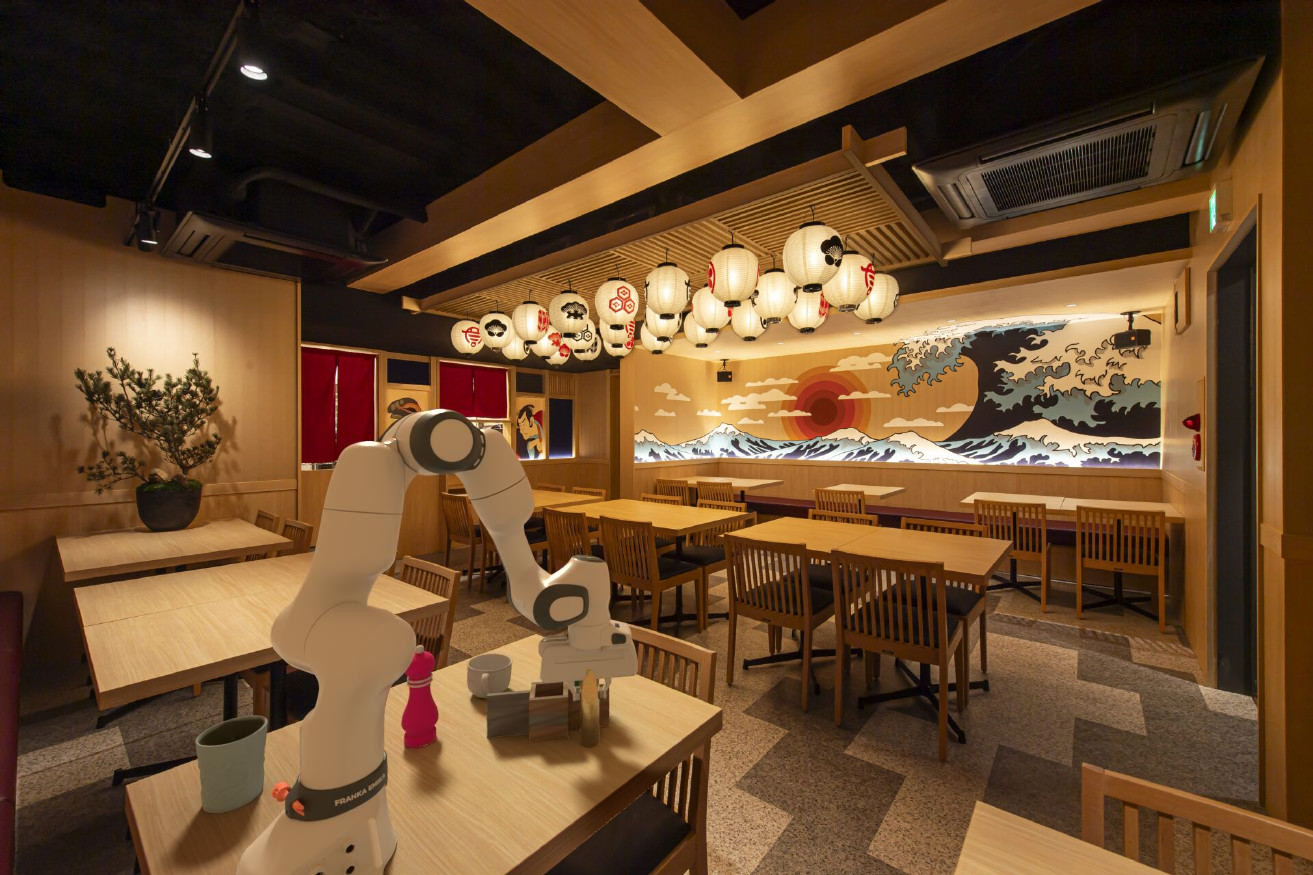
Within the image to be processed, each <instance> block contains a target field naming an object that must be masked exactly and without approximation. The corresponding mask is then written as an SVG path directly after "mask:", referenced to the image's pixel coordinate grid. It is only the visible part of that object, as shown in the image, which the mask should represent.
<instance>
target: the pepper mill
mask: <svg viewBox="0 0 1313 875" xmlns="http://www.w3.org/2000/svg"><path fill="white" fill-rule="evenodd" d="M435 666H436V659H435V656H434V655H433V654H432V653H431V652H429V651H425V647H424V645H422V644H419V645H416V649H415V654H414V657H413V659H412V661H411V663H410V665H409V667H408V669H407V670H406V671H405V673H404V674H405V675H406V676H407V678H406V681H407V682H406V686H408V690H409V691H408V692H409V694H408V700H407V702H406V706H405V708H404V710H403V712H402V716H401V723H400V726H401V728H402V730H404V733H403V744H404V745H405V747H407V748H410V749H411V748H412V749H415V748H416V749H419V748H423V747H425V746H428V745H430V744H431V743H433V742H434V741H435V740H436V738H437V727H436V725H437V723H438V721H439V718H440V717H439V716H440V714H439V709H438V706H437V704H436V702H435V700H434V698H433V694H432V689H431V685H432V684H431V683H432V682H433V681H434V680H433V670H435Z"/></svg>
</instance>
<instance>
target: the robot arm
mask: <svg viewBox="0 0 1313 875" xmlns="http://www.w3.org/2000/svg"><path fill="white" fill-rule="evenodd" d="M450 474H451V475H452V474H454V475H455V476H456V477H457V478H458V479H459V480H460V482H461V483H462V484H463V487H464V489H465V492H466V494H467V496H468V499H469V501H470V503H471V506H472V507H473V509H474V511H475V512H476V514H477V517H478V518H479V520H480V521H481V523H482V524H483V526H484V527H485V529H486V531H487V533H488V534H489V536H491V540H492V543H493V544H494V546H495V549H496V551H497V554H498V557H499V560H500V561H501V563H502V564H501V565H502V567H503V569H504V572H505V575H506V576H505V577H506V596H507V602H508V604H509V606H510V607H511V609H512V610H513V611H514V612H516V613H517V614H520V616H521V615H522V616H524V617H525V618H526V619H528V620H530V621H531V623H534V624H535V625H536V626H538V627H540V628H541V629H543V630H545V631H559V630H561V629H565V628H566V627H567V633H564V634H556V635H552V634H550V635H549V634H548V635H546V636H545V637H543V638H542V639H540V641H539V642H538V655H539V656H540V657H541V662H540V672H539V674H540V677H539V679H540V681H541V682H543V683H554V682H566V681H568V687H569V689H570V690H571V692H572V693H573V701H580V689H576V688H575V686H574V681H579V680H585V678H586V670H593V669H594V678H595V679H599V680H602V679H604V680H603V681H604V683H603V684H604V685H603V687H599V699H604V698H606V691H607V689H608V688H609V689H610V686H611V684H612V679H614V678H615V679H616V678H626V677H635V676H636V674H637V673H638V671H639V664H638V663H639V662H638V656H637V651H636V647H635V644H634V641H633V639H632V638H633V637H632V634H633V633H632V630H631V627H630V625H628V624H627V623H625V622H621V621H617V620H613V619H611V613H610V610H609V605H610V600H611V580H610V571H609V567H608V564H607V562H606V561H605V560H604V559H602V558H600V557H598V556H594V555H589V554H577V555H573V556H571V558H570V560H568V562H567V563H566V564H565V565H564V566H562V567H561V568H560V569H559V570H557V571H556V572H554V573H552V574H551V573H549V572H548V571H546V570H545V569H543V567H541V566H540V565H539V564H538V563H537V561H536V560H535V557H534V555H533V552H532V549H531V546H530V545H529V541H528V539H527V536H526V534H525V528H524V527H525V526H524V525H525V524H526V523H527V522H528V521H529V520H530V518H531V517H532V515H533V513H534V510H535V507H536V502H535V498H534V493H533V489H532V486H531V483H530V480H529V479H528V476H527V474H526V472H525V469H524V468H523V465H522V463H521V461H520V459H519V457H518V456H517V454H516V452H515V450H514V449H513V448H512V446H511V445H510V443H509V441H508V440H507V439H506V437H505V436H504V435H503V433H502V432H500V431H499V430H497V429H494V428H481V429H480V428H478V427H477V426H476V425H474V423H473V422H472V421H471V420H470V419H469V418H467V416H465V415H463V414H462V413H460V412H458V411H455V410H451V409H445V408H438V409H433V410H419V411H416V412H413V413H410V414H408V415H405V416H401V417H399V418H397V419H396V420H395V421H393V422H392V423H391V424H390V425H389V426H388V427H387V428H386V429H385V431H384V432H383V433H382V434H381V435H380V437H379V438H378V439H377V440H376V441H370V440H369V441H368V440H367V441H359V442H355V443H353V444H350V445H348V446H347V447H345V448H344V449H343V450H342V452H340V454H339V456H338V458H337V461H336V464H335V466H334V469H333V471H332V474H331V476H330V477H331V478H330V480H329V484H328V486H327V491H326V495H325V499H324V504H323V509H322V514H321V519H320V523H319V524H320V525H319V530H318V533H317V534H318V535H317V540H316V544H315V549H314V555H313V558H312V560H311V563H310V567H309V568H308V571H307V573H306V576H305V578H304V581H303V582H302V584H301V586H300V589H299V590H298V592H297V593H296V595H295V597H294V599H293V600H292V602H291V603H289V604H288V605H286V606H285V607H284V608H283V609H282V610H280V612H279V614H278V615H277V616H276V618H275V620H273V624H272V626H271V629H270V636H269V637H270V643H271V646H272V648H273V650H274V651H275V652H276V653H277V654H278V655H279V657H280V658H281V659H282V660H284V662H286V663H287V664H288V665H289V666H291V667H293V668H296V669H297V670H300V671H304V672H306V673H310V674H312V675H313V676H314V675H315V678H316V680H317V681H318V688H319V689H318V695H317V700H316V703H315V705H314V706H315V707H314V708H312V709H311V711H309V712H308V713H307V714H306V715H305V716H304V718H303V720H302V722H301V723H300V727H299V774H298V776H297V778H296V780H295V783H294V784H293V785H292V787H291V786H289V784H288V783H287V782H285V781H281V782H278V783H277V784H275V785H274V786H273V788H272V789H271V792H270V793H271V794H270V795H271V797H273V798H274V799H275V801H276V802H278V803H283V802H284V809H283V810H282V811H281V812H280V813H279V814H278V815H277V816H276V817H275V819H273V821H272V822H270V824H269V825H268V826H267V827H266V828H265V829H264V830H263V831H262V832H261V833H260V834H259V835H258V836H257V837H256V839H254V841H253V842H252V843H251V844H249V845H248V847H247V848H246V849H245V850H244V851H243V853H242V855H241V856H240V859H239V860H238V863H237V868H236V871H235V875H384V870H385V867H386V865H387V864H388V863H389V861H390V859H391V858H392V856H393V855H394V852H395V850H396V848H397V844H398V843H397V841H398V840H397V839H398V838H397V834H396V831H395V829H394V826H393V824H392V823H393V822H392V820H391V816H390V810H389V805H388V798H387V786H388V782H389V780H388V779H389V778H388V777H389V776H388V774H389V766H388V754H387V751H386V750H385V713H386V706H387V705H386V704H387V700H388V697H389V693H390V690H391V688H392V686H393V684H395V682H397V681H398V680H399V679H400V678H401V677H402V676H403V675H404V674H405V671H406V670H407V669H408V667H409V665H410V663H411V661H412V659H413V657H414V654H415V649H416V647H417V637H416V632H415V630H414V628H413V627H412V625H411V624H410V623H409V622H407V621H405V620H404V619H402V618H401V617H400V616H399V615H397V614H395V613H393V612H392V611H390V610H388V609H385V608H380V607H376V606H373V605H368V601H369V597H370V594H371V591H372V589H373V587H374V585H375V583H376V582H377V581H378V578H380V576H381V575H382V574H383V573H385V572H386V571H388V570H389V569H390V568H391V567H392V565H393V564H394V563H395V560H396V557H397V549H398V544H399V543H398V542H399V537H400V529H401V524H402V518H403V513H404V512H403V510H404V503H405V495H406V493H407V489H408V488H409V486H410V483H411V482H412V480H414V478H415V477H416V476H418V475H420V476H437V475H450Z"/></svg>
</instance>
